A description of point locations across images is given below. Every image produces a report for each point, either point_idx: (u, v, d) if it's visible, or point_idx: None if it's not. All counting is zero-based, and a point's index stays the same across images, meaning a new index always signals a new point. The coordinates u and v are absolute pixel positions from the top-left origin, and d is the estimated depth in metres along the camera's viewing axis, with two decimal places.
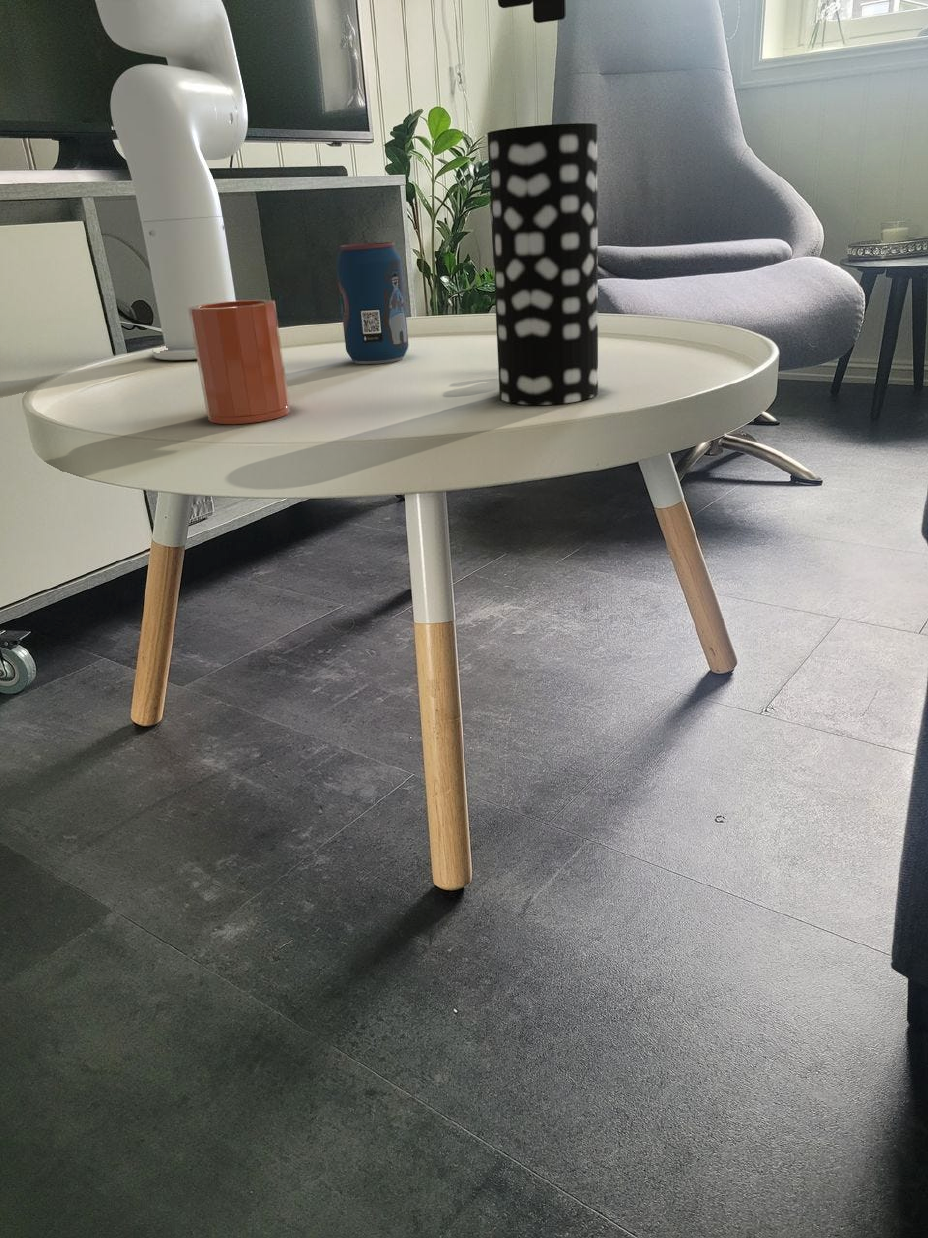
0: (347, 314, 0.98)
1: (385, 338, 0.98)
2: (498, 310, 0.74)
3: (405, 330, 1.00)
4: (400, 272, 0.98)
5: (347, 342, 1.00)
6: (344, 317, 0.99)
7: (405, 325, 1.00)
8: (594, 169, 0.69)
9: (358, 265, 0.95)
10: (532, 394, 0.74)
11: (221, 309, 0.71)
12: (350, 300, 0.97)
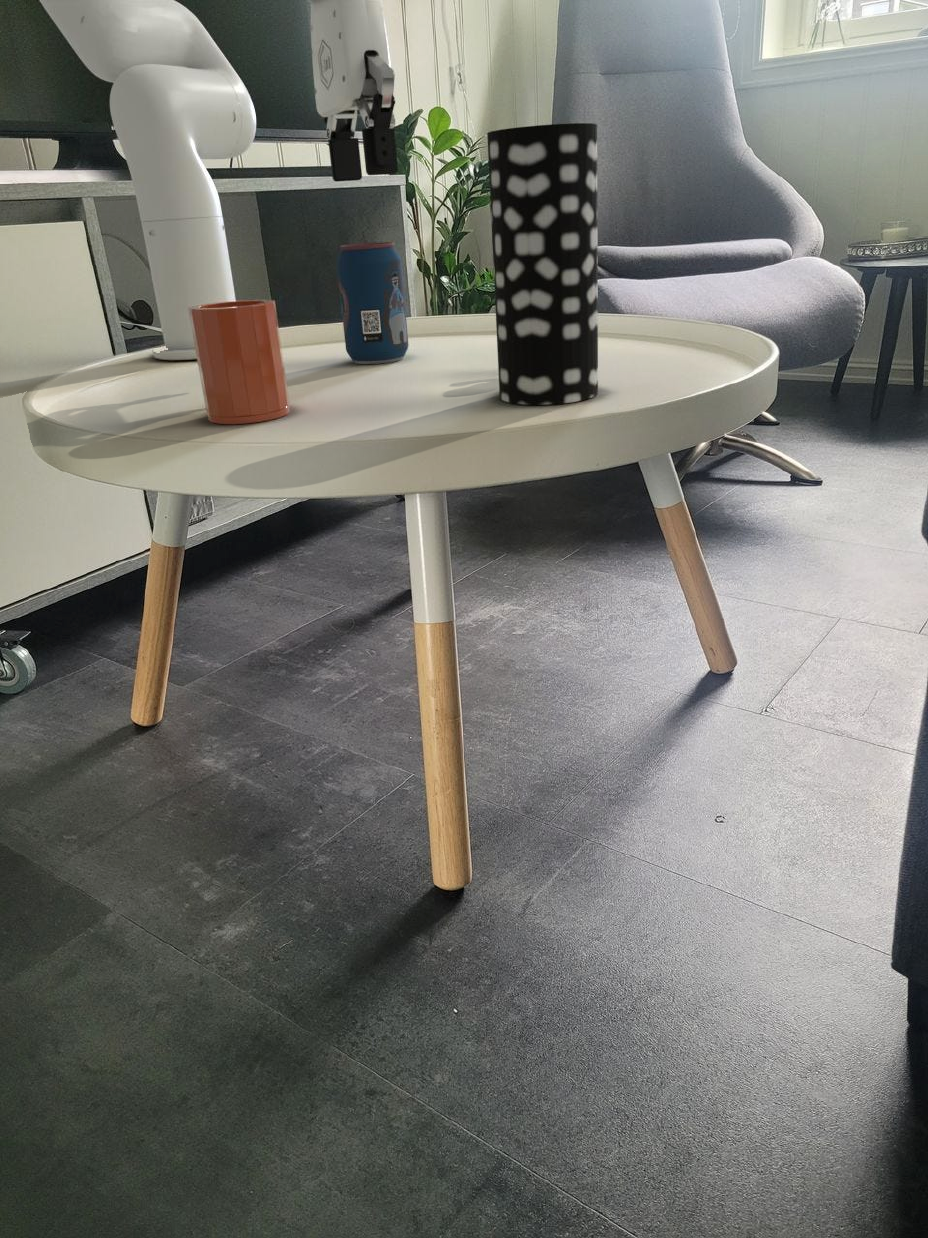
0: (347, 314, 0.98)
1: (385, 338, 0.98)
2: (498, 310, 0.74)
3: (405, 330, 1.00)
4: (400, 272, 0.98)
5: (347, 342, 1.00)
6: (344, 317, 0.99)
7: (405, 325, 1.00)
8: (594, 169, 0.69)
9: (358, 265, 0.95)
10: (532, 394, 0.74)
11: (221, 309, 0.71)
12: (350, 300, 0.97)
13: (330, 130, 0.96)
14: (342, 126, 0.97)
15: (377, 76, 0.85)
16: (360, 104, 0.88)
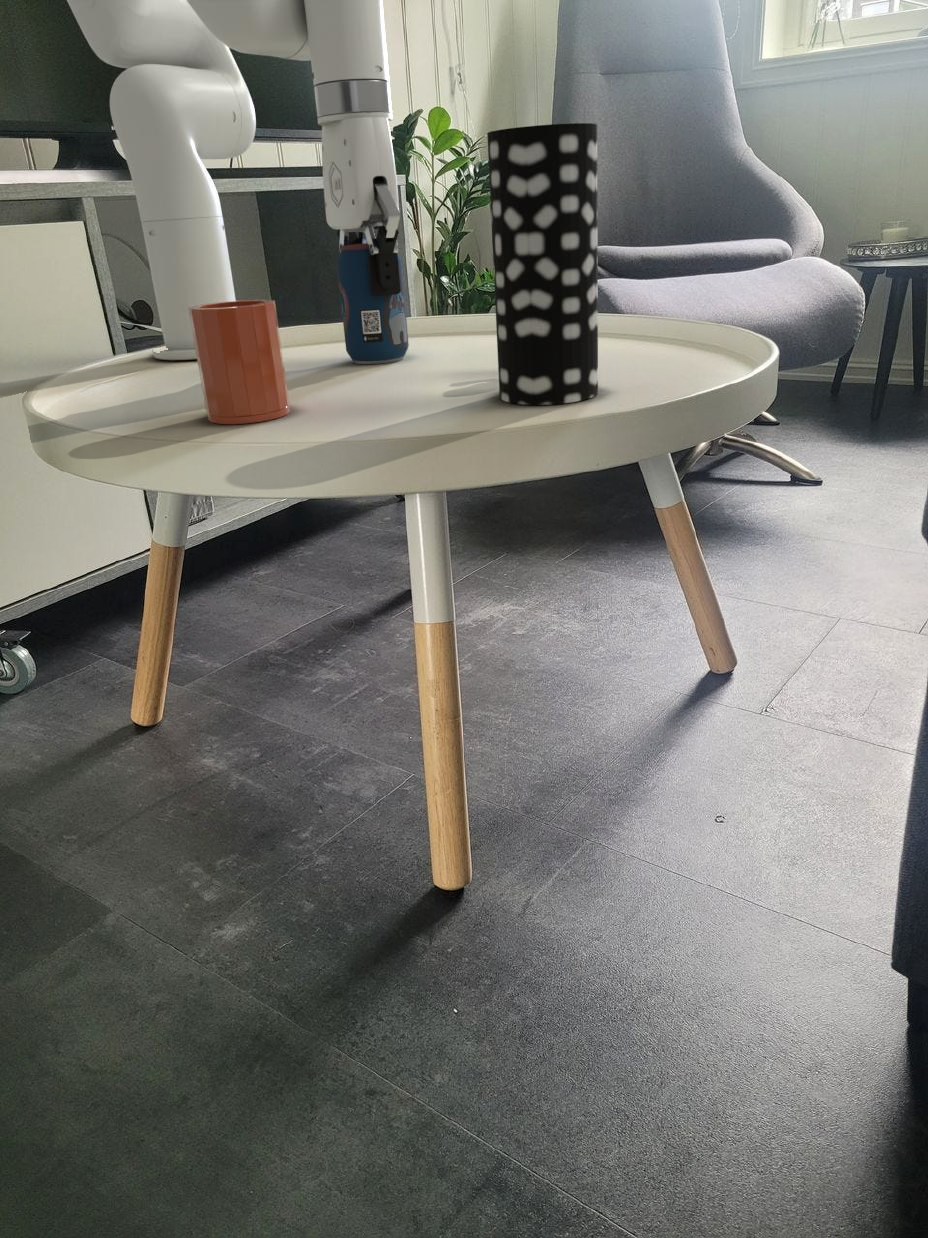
0: (348, 314, 0.98)
1: (385, 338, 0.98)
2: (498, 310, 0.74)
3: (405, 330, 1.00)
4: (400, 272, 0.98)
5: (347, 342, 1.00)
6: (344, 317, 0.99)
7: (405, 325, 1.00)
8: (594, 169, 0.69)
9: (359, 265, 0.95)
10: (532, 394, 0.74)
11: (221, 309, 0.71)
12: (350, 300, 0.97)
13: (343, 244, 1.00)
14: (355, 241, 1.01)
15: (383, 212, 0.90)
16: (366, 230, 0.93)
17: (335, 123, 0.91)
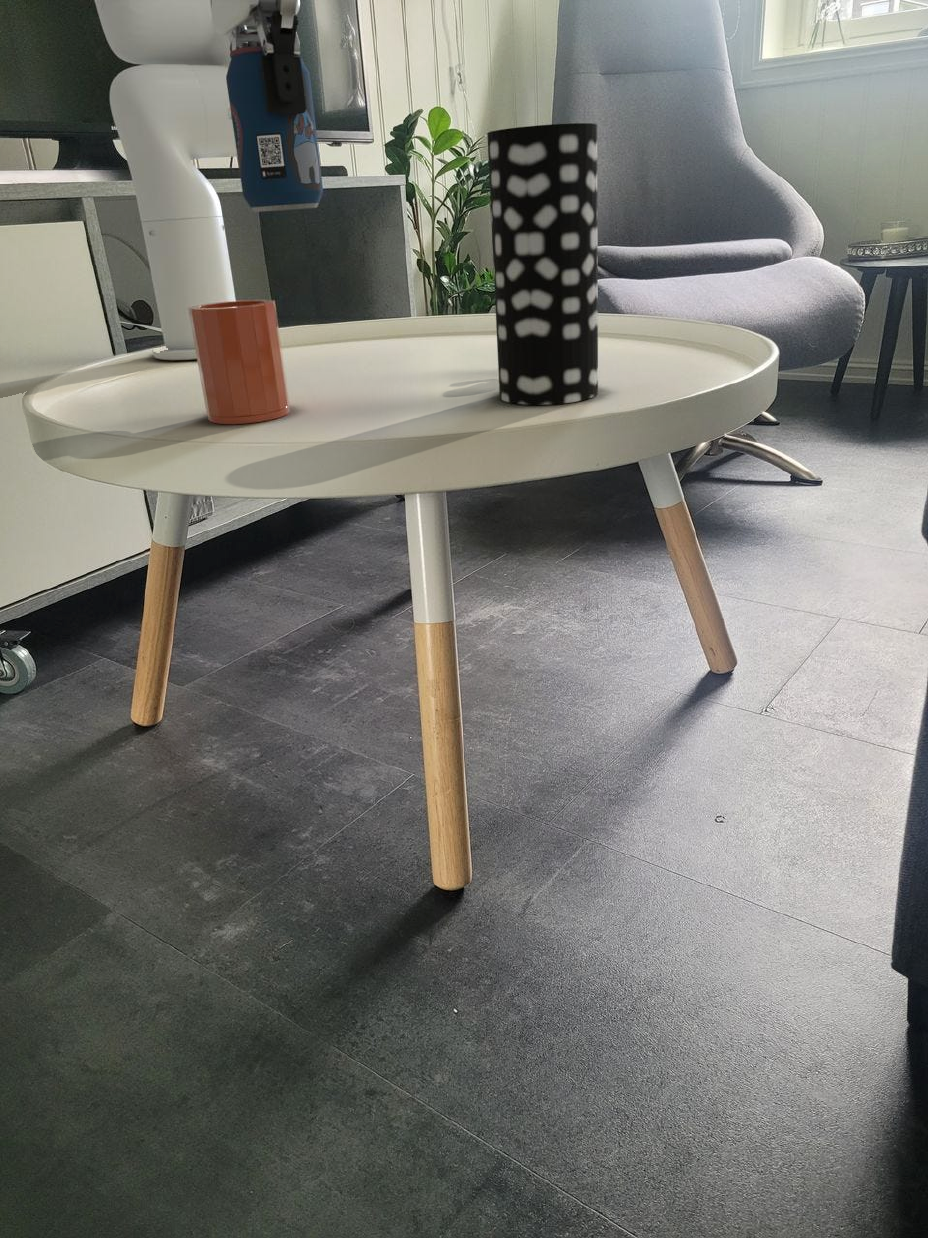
0: (241, 142, 0.77)
1: (289, 173, 0.77)
2: (498, 310, 0.74)
3: (317, 167, 0.79)
4: (308, 88, 0.76)
5: (243, 182, 0.78)
6: (238, 148, 0.77)
7: (317, 161, 0.79)
8: (594, 169, 0.69)
9: (251, 72, 0.74)
10: (532, 394, 0.74)
11: (221, 309, 0.71)
12: (243, 122, 0.76)
13: None
14: None
15: None
16: (258, 21, 0.72)
17: None
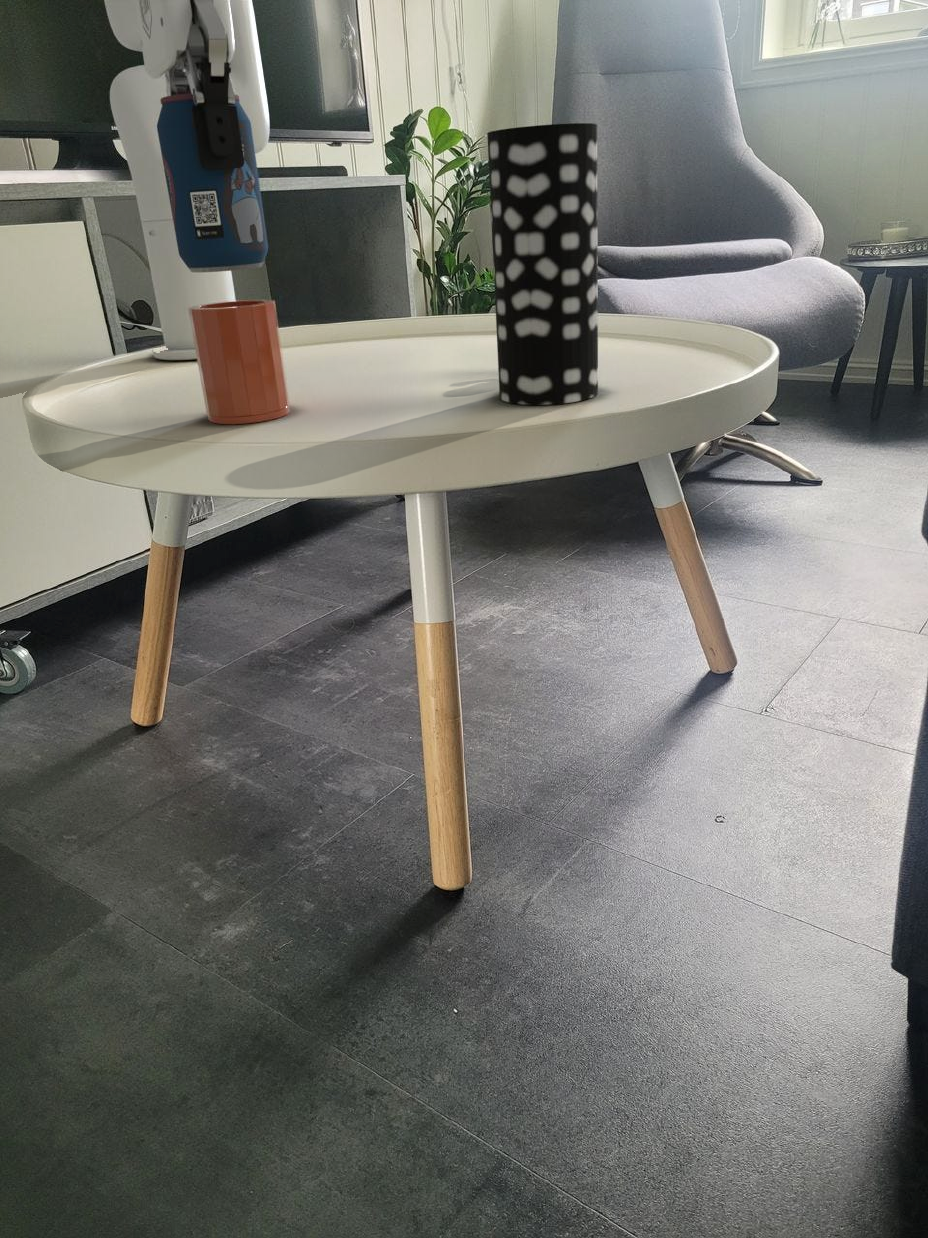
0: (174, 198, 0.69)
1: (227, 233, 0.69)
2: (498, 310, 0.74)
3: (260, 225, 0.71)
4: (248, 138, 0.69)
5: (177, 241, 0.71)
6: (171, 204, 0.70)
7: (260, 217, 0.71)
8: (594, 169, 0.69)
9: (182, 122, 0.66)
10: (532, 394, 0.74)
11: (221, 309, 0.71)
12: (174, 176, 0.68)
13: None
14: None
15: (204, 34, 0.61)
16: (187, 68, 0.64)
17: None
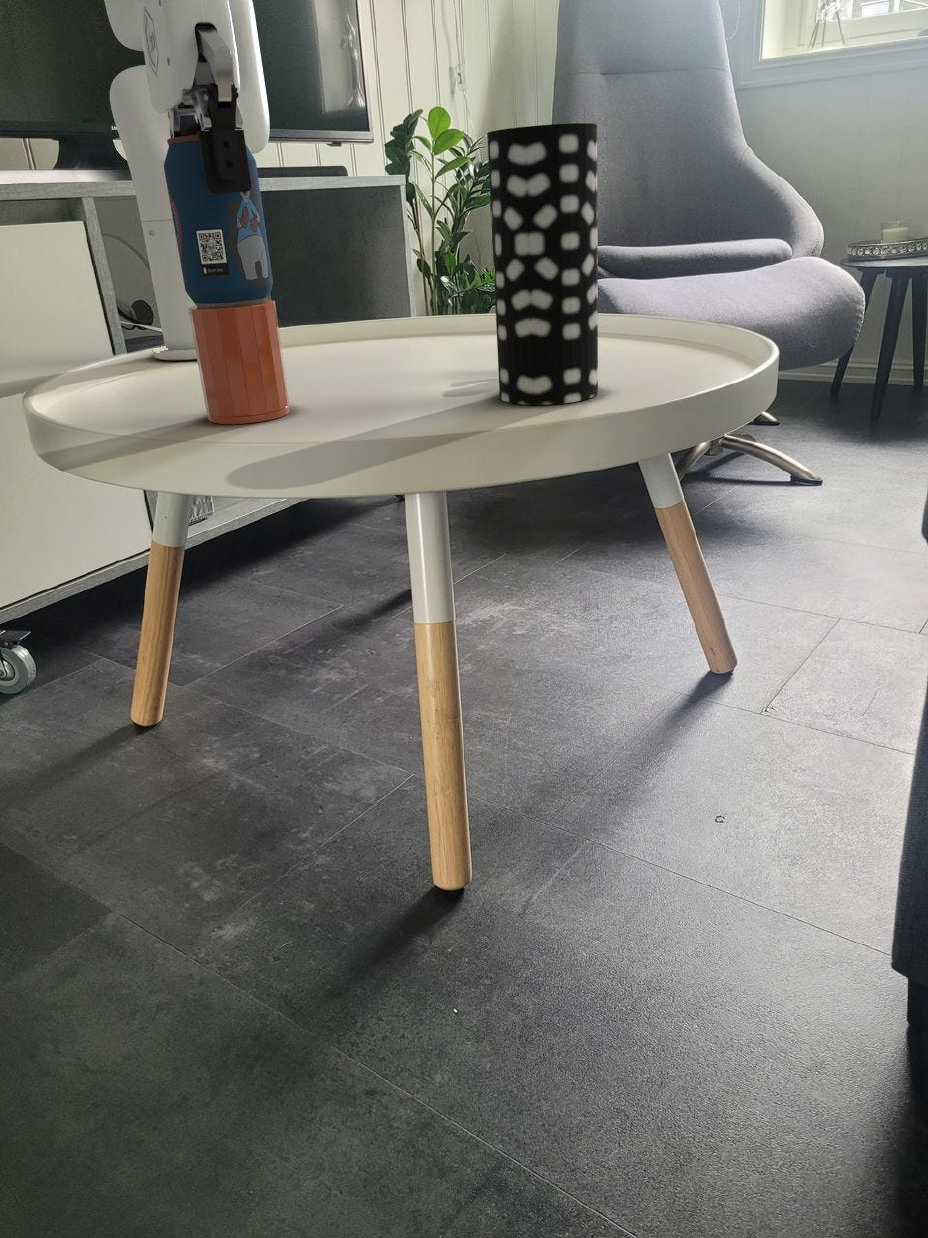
0: (180, 236, 0.70)
1: (233, 270, 0.70)
2: (498, 310, 0.74)
3: (265, 261, 0.72)
4: (253, 177, 0.70)
5: (184, 277, 0.72)
6: (177, 241, 0.71)
7: (265, 254, 0.72)
8: (594, 169, 0.69)
9: (188, 163, 0.67)
10: (532, 394, 0.74)
11: (221, 309, 0.71)
12: (181, 215, 0.69)
13: (173, 131, 0.72)
14: (191, 126, 0.73)
15: (210, 58, 0.61)
16: (194, 97, 0.64)
17: None
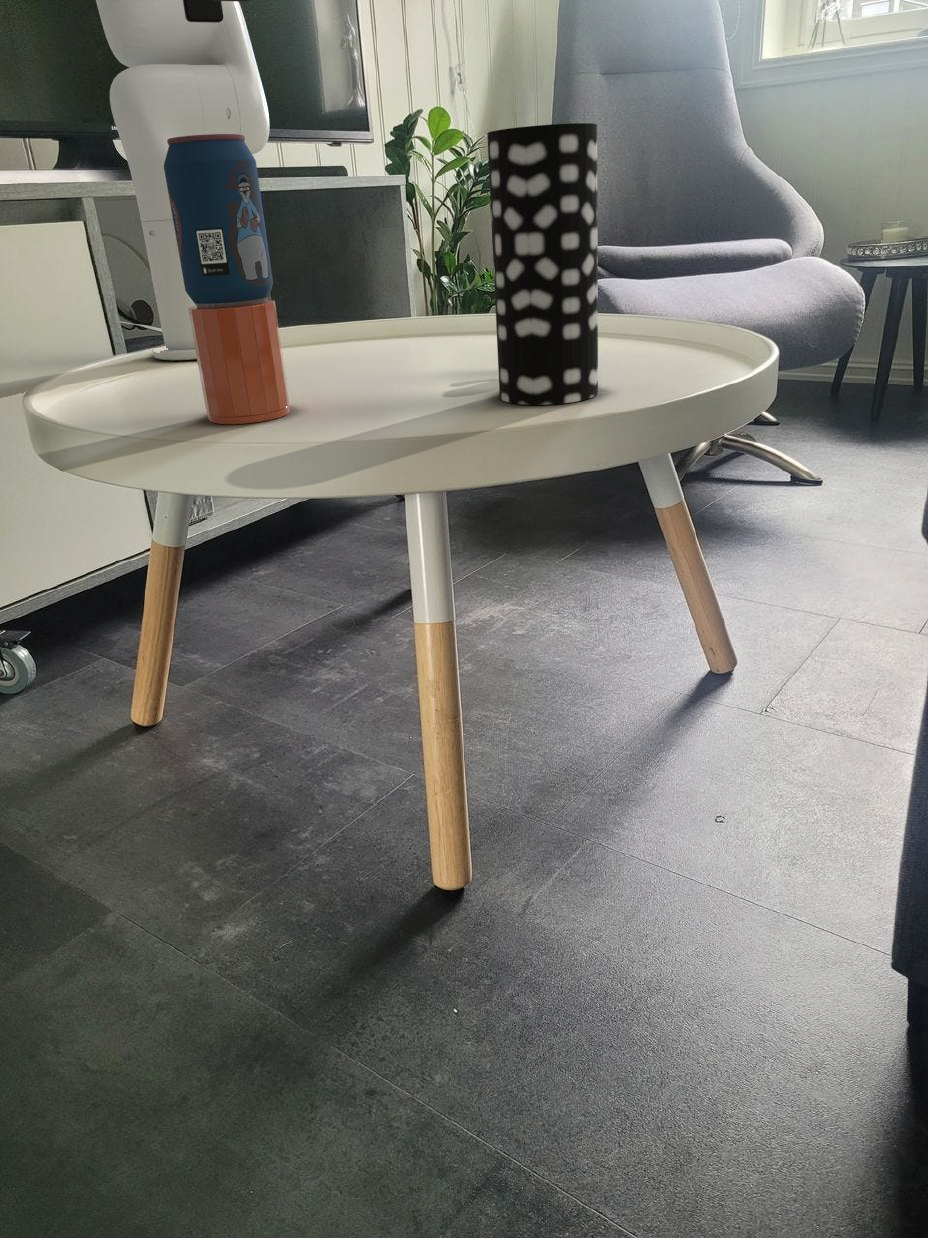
0: (180, 236, 0.70)
1: (233, 270, 0.70)
2: (498, 310, 0.74)
3: (265, 261, 0.72)
4: (253, 177, 0.70)
5: (184, 277, 0.72)
6: (177, 241, 0.71)
7: (265, 254, 0.72)
8: (594, 169, 0.69)
9: (188, 163, 0.67)
10: (532, 394, 0.74)
11: (221, 309, 0.71)
12: (181, 215, 0.69)
13: None
14: None
15: None
16: None
17: None
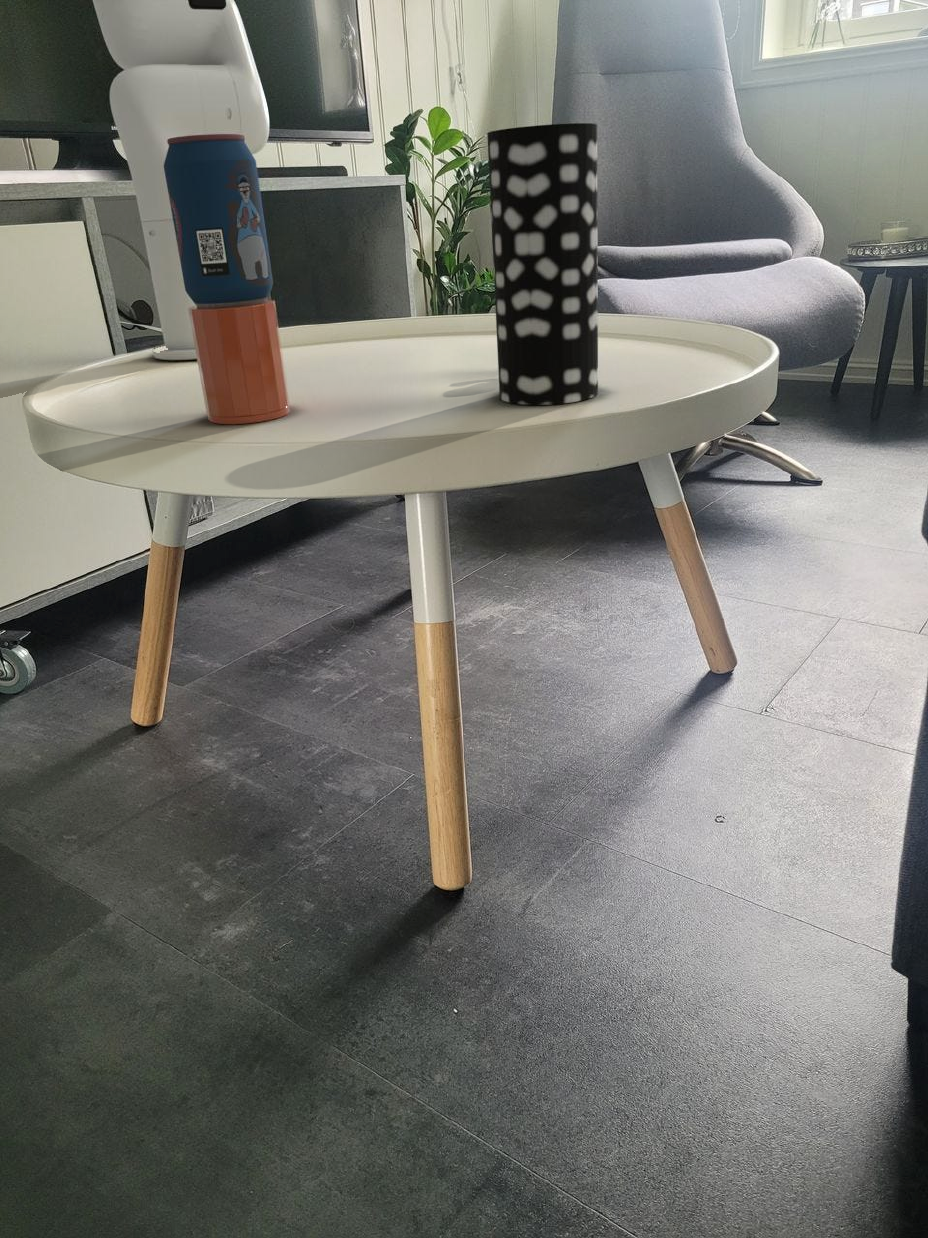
0: (180, 236, 0.70)
1: (233, 270, 0.70)
2: (498, 310, 0.74)
3: (265, 261, 0.72)
4: (253, 177, 0.70)
5: (184, 277, 0.72)
6: (177, 241, 0.71)
7: (265, 254, 0.72)
8: (594, 169, 0.69)
9: (188, 163, 0.67)
10: (532, 394, 0.74)
11: (221, 309, 0.71)
12: (181, 215, 0.69)
13: None
14: None
15: None
16: None
17: None
